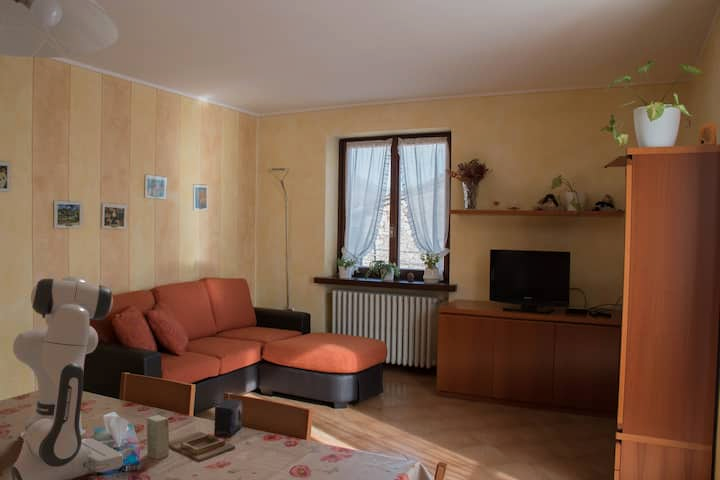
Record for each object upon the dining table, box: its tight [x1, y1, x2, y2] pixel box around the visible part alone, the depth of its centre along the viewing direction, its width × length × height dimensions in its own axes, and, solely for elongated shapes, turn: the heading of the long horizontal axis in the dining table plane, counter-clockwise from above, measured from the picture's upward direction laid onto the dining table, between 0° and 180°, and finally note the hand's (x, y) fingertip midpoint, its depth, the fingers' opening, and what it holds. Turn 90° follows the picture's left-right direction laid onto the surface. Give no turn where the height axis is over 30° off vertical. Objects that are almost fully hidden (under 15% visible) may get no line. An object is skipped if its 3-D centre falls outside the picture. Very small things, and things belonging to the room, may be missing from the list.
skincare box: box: [146, 414, 170, 460], centre depth 186 cm, size 6×4×12 cm
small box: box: [213, 398, 243, 438], centre depth 208 cm, size 11×6×10 cm, turn 168°
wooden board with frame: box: [169, 431, 236, 462], centre depth 194 cm, size 20×14×2 cm
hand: (122, 446), depth 177 cm, fingers open, 8 cm apart
